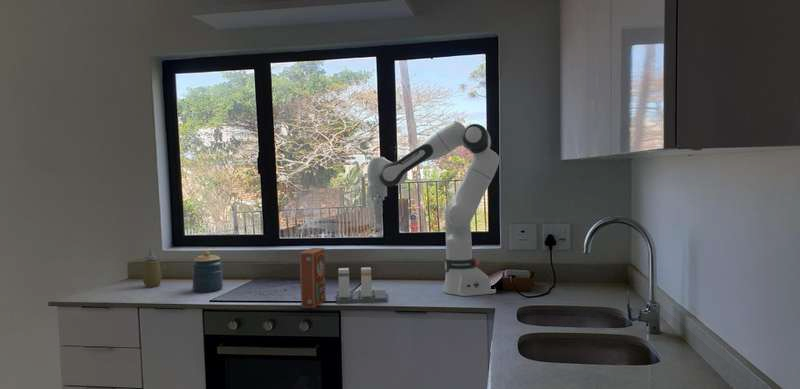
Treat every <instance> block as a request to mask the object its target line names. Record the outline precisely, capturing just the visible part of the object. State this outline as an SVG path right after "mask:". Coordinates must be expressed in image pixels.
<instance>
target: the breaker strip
mask: <svg viewBox="0 0 800 389" xmlns="http://www.w3.org/2000/svg"><path fill="white" fill-rule="evenodd" d="M349 269H350V267H340V268H338V270H337V272H338V276H337V277H338V290H337V291H336V296H335V299H336V301H335V302H336V305H337V304H360V303H361V304H362V303H364V304H365V303H384V302H385V303H386V302H388V299H387V297H388V296H387V292H386V289H379V290H377V289H376V290H375V289H371V292H372V296H368V297H362V292H361V289H360V290H350V270H349Z"/></svg>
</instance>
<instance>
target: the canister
mask: <svg viewBox="0 0 800 389" xmlns="http://www.w3.org/2000/svg"><path fill="white" fill-rule="evenodd" d="M220 259H221V257H220V256H218V255H216V254H211V253H210V251H208V250H206V251H204V252H203V255H198V256H196V257H195V258H194V259H193V262H194V263H192V264H191V267H192V272H191V273H192V292H195V293H212V292H216V291H217V292H218V291H220V290H222V289H223V288H224V283H223V269H222V264H223V262H222V261H221V260H220Z"/></svg>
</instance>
